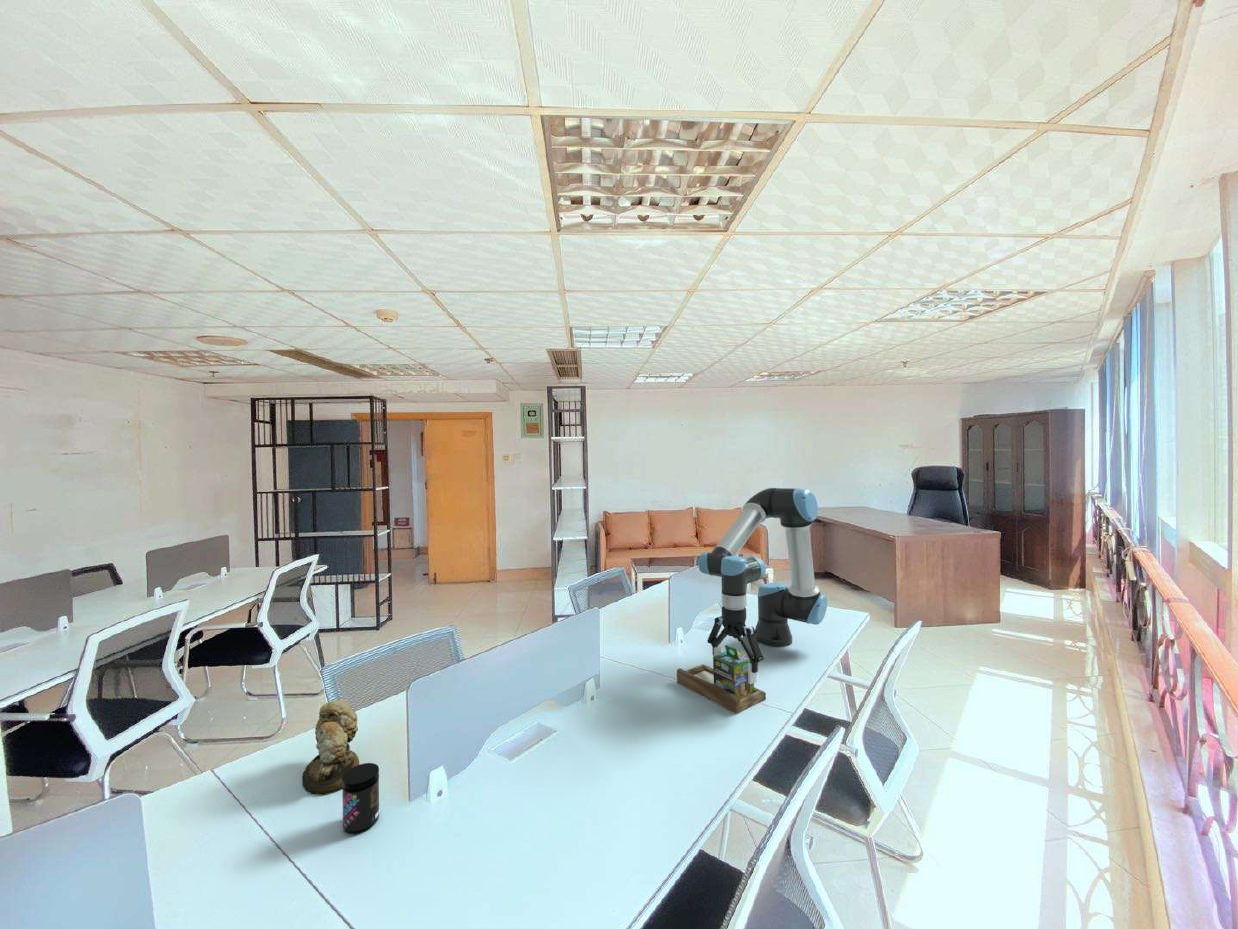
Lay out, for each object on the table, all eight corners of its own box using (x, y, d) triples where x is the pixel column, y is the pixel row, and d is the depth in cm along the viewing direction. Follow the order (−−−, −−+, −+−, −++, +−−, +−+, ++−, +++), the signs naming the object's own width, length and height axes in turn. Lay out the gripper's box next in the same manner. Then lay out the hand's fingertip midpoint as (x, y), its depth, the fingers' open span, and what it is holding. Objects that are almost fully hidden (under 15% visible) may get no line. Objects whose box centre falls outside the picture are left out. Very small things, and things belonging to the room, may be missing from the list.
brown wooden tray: (705, 671, 169) (705, 658, 169) (765, 699, 149) (765, 685, 149) (676, 682, 160) (676, 669, 160) (736, 714, 140) (736, 698, 140)
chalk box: (755, 695, 149) (754, 647, 149) (734, 703, 143) (734, 654, 143) (732, 683, 156) (732, 638, 156) (712, 691, 151) (712, 644, 151)
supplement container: (347, 815, 101) (346, 766, 101) (382, 808, 103) (381, 760, 103) (338, 839, 95) (337, 787, 94) (376, 831, 97) (375, 780, 96)
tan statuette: (300, 763, 119) (300, 694, 119) (353, 746, 126) (353, 681, 126) (303, 804, 105) (303, 725, 105) (364, 783, 111) (364, 709, 112)
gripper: (696, 599, 157) (696, 664, 157) (759, 619, 137) (760, 693, 137) (711, 595, 162) (712, 658, 162) (775, 614, 142) (776, 685, 142)
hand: (734, 674), depth 150 cm, fingers open, 13 cm apart
